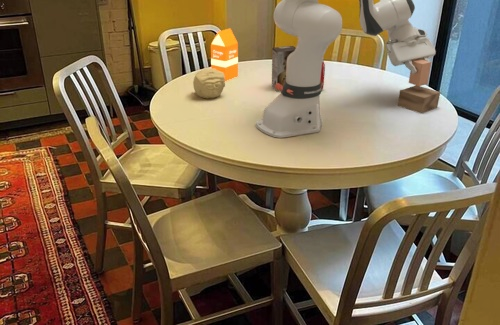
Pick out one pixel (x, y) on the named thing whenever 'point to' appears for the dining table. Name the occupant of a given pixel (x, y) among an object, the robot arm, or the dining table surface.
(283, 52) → the coffee box
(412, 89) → the walnut box
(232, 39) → the orange juice
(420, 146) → the dining table surface
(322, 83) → the soda can
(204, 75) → the sculpture
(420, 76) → the salmon pink block
